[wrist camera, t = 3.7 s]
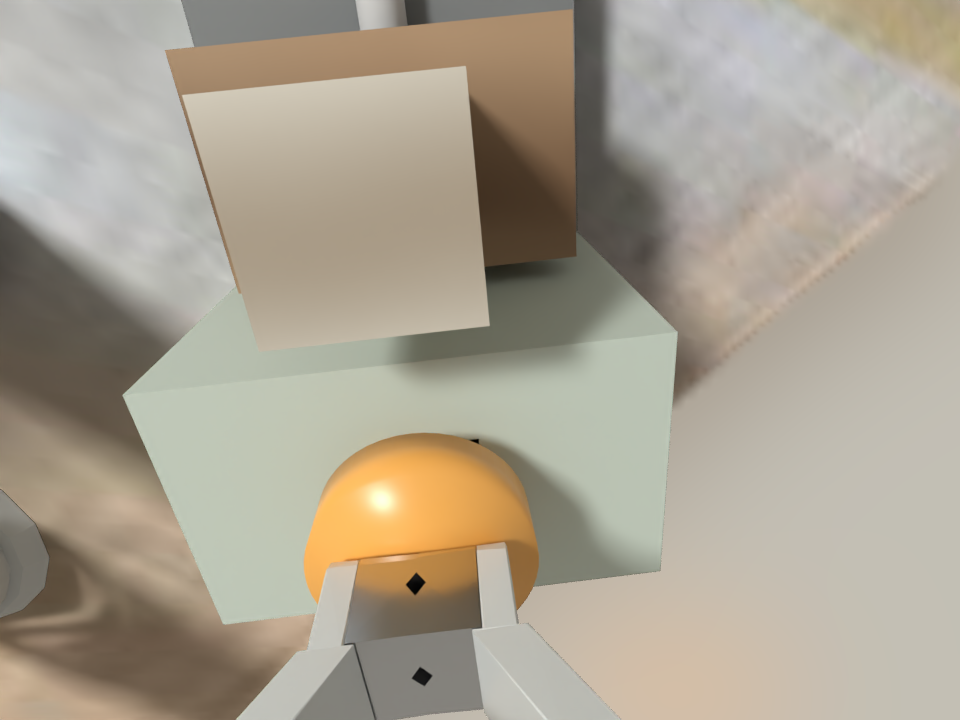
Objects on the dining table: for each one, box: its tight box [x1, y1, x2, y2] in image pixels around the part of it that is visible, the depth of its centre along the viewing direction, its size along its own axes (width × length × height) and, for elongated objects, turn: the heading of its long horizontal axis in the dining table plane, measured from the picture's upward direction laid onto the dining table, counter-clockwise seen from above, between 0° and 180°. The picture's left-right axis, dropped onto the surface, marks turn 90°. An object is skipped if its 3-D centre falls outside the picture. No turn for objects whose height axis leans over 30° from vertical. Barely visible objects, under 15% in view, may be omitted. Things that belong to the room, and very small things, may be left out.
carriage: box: [165, 9, 577, 352], centre depth 11 cm, size 5×8×10 cm, turn 95°
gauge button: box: [304, 433, 539, 610], centre depth 12 cm, size 4×4×6 cm
